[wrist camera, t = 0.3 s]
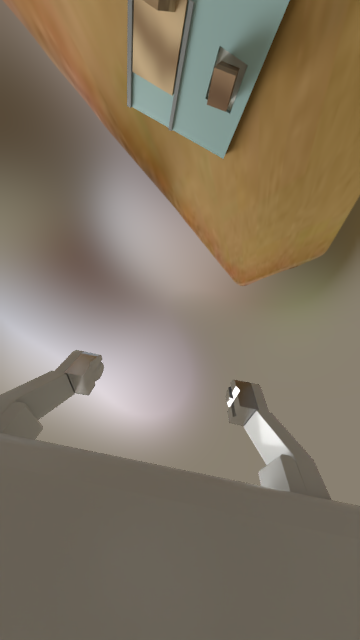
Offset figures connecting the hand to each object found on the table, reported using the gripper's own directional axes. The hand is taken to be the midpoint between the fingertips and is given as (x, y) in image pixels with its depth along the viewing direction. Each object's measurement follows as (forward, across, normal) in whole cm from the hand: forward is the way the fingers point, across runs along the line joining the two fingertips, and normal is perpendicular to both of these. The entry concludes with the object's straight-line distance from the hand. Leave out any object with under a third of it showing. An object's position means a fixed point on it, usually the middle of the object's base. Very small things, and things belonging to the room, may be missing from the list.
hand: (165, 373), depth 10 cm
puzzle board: (+45, +6, -32) cm, 55 cm away
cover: (+42, +12, -32) cm, 54 cm away
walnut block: (+44, 0, -30) cm, 53 cm away
